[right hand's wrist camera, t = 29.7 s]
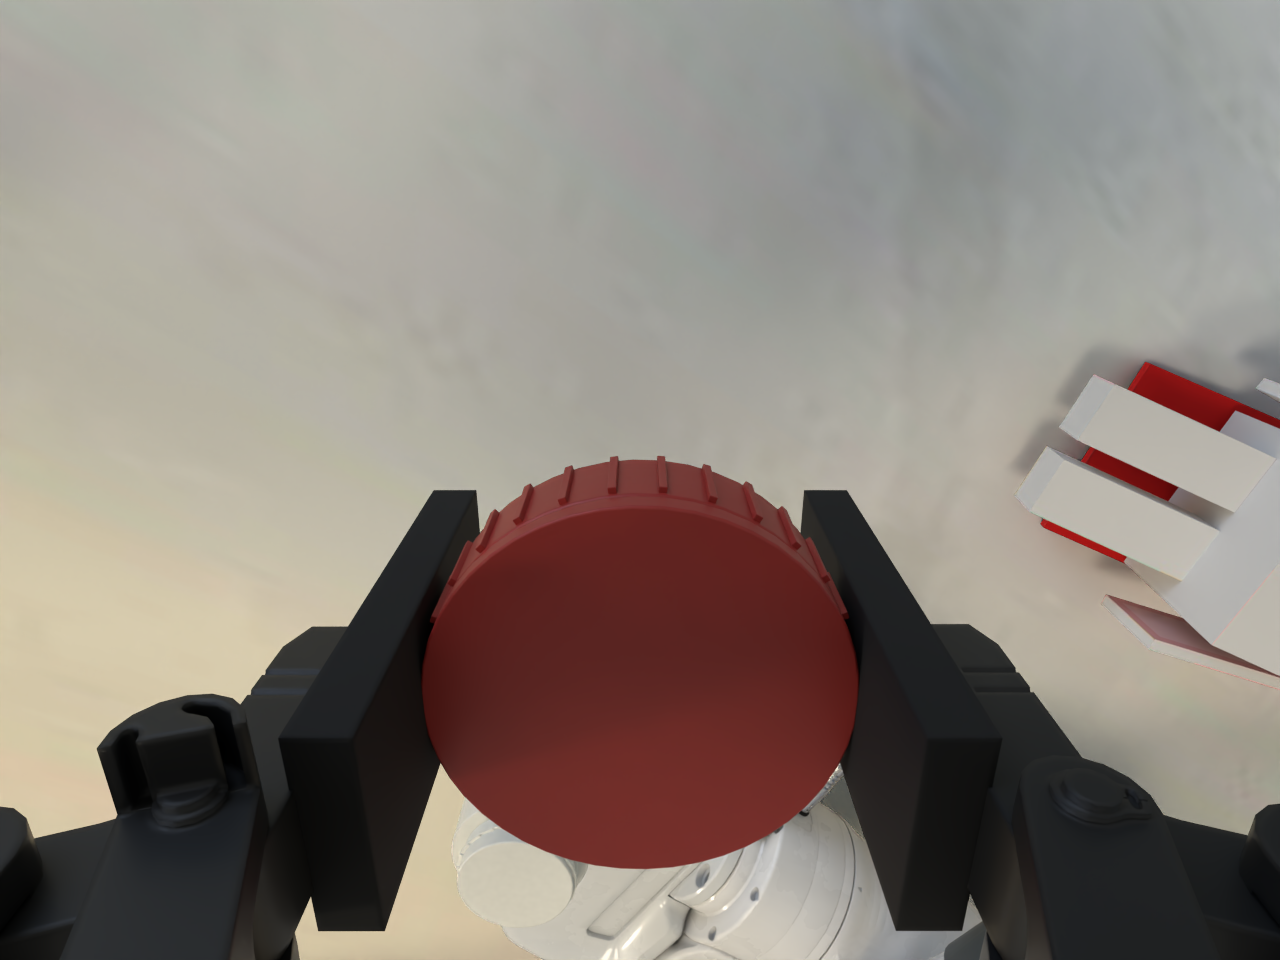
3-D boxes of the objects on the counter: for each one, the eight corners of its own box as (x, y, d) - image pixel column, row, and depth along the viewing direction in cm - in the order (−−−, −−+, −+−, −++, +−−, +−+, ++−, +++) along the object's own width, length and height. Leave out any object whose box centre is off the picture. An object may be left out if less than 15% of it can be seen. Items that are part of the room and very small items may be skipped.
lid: (443, 433, 11) (411, 478, 9) (873, 472, 11) (911, 523, 10) (442, 776, 13) (415, 858, 12) (800, 803, 13) (822, 887, 12)
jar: (589, 709, 45) (566, 950, 31) (495, 686, 45) (430, 921, 31) (616, 630, 43) (603, 850, 30) (518, 605, 43) (459, 817, 29)
